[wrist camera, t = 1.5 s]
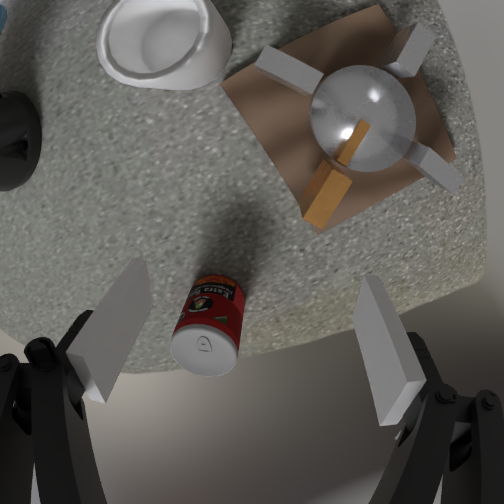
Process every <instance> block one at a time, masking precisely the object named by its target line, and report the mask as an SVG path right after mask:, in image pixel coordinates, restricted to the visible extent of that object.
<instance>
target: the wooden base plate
mask: <svg viewBox="0 0 504 504" xmlns="http://www.w3.org/2000/svg"><path fill="white" fill-rule="evenodd" d="M396 33H397V31H396V30H395V28H394V26H393V25H392V23H391V22H390V20H389V19H388V17H387V16H386V14H385V13H384V11H383V10H382V9H381V7H380V6H379V4H377V5H374V6H371V7H368V8H366V9H363V10H361V11H358V12H355V13H353V14H350V15H348V16H346V17H343V18H341V19H338V20H336V21H334V22H332V23H329V24H327V25H325V26H323V27H321V28H318V29H316V30H314V31H312V32H310V33H308V34H306V35H304V36H302V37H300V38H298V39H296V40H294V41H292V42H290V43H288V44H286V45H284V46H282V47H280V48H279V49H277V50H279V51H281V52H283V53H285V54H287V55H289V56H291V57H293V58H295V59H297V60H299V61H301V62H303V63H305V64H307V65H309V66H310V67H312V68H314V69H316V70H318V71H320V72H321V73H323V76H322V78H321V80H320V81H319V83H318V85H319V84H320V83H321V82H322V80H324V79H325V78H326V77H327V76H329V75H330V74H332V73H334V72H336V71H338V70H340V69H342V68H345V67H349V66H355V65H366V66H372V67H376V68H377V66H378V65H379V63H380V61H381V59H382V58H383V56H384V54H385V52H386V51H387V49H388V47H389V46H390V44H391V42H392V40H393V38H394V37H395V35H396ZM255 63H256V62H254V63H252V64H250V65H249V66H247V67H245V68H244V69H242V70H241V71H239V72H237V73H236V74H234V75H233V76H231V77H229V78H228V79H226V80H225V81H223V82H222V83H220V86H221V87H222V88H223V90H224V91H225V93H226V94H227V95H228V97H229V98H230V100H231V101H232V103H233V104H234V105H235V107H236V108H237V110H238V111H239V113H240V114H241V115H242V117H243V118H244V120H245V121H246V123H247V124H248V126H249V127H250V129H251V130H252V132H253V133H254V135H255V136H256V138H257V139H258V141H259V142H260V144H261V145H262V147H263V148H264V150H265V151H266V153H267V154H268V156H269V157H270V159H271V160H272V162H273V164H274V165H275V167H276V168H277V170H278V171H279V173H280V175H281V176H282V178H283V179H284V181H285V182H286V184H287V186H288V187H289V189H290V191H291V192H292V194H293V195H294V197H295V199H296V200H297V202H298V200H299V199H300V197H301V195H302V194H303V192H304V190H305V189H306V187H307V185H308V184H309V182H310V180H311V179H312V177H313V175H314V174H315V172H316V170H317V169H318V167H319V165H320V164H321V162H322V160H323V159H325V160H327V161H329V162H330V163H332V164H334V165H335V166H337V167H339V168H340V169H341V170H342V171H343V172H344V173H345V174H346V175H347V176H348V177H349V178H350V179H351V180H352V181H353V182H352V183H351V185H350V187H349V188H348V190H347V191H346V193H345V195H344V196H343V198H342V199H341V201H340V202H339V204H338V206H337V207H336V209H335V210H334V212H333V213H332V215H331V216H330V218H329V220H328V221H327V223H326V224H325V226H324V227H323V229H321V228H319V227H317V226H315V225H313V224H312V223H311V225H312V227H313V229H314V230H315V232H316V234H317V235H319V234H320V233H322V232H324V231H326V230H328V229H330V228H332V227H333V226H335V225H337V224H339V223H341V222H343V221H344V220H346V219H348V218H350V217H352V216H354V215H355V214H357V213H359V212H361V211H363V210H365V209H366V208H368V207H370V206H372V205H374V204H376V203H377V202H379V201H381V200H383V199H385V198H386V197H388V196H390V195H392V194H394V193H396V192H397V191H399V190H401V189H403V188H405V187H406V186H408V185H410V184H412V183H414V182H415V181H417V180H419V179H421V178H423V177H424V175H423V174H422V173H421V172H419V171H418V170H417V169H415V168H414V167H413V166H412V165H410V164H409V163H408V162H406V161H405V160H404V159H402V158H401V159H400V160H399V161H397V162H396V163H395V164H393V165H392V166H390V167H388V168H386V169H383V170H379V171H374V172H361V171H355V170H352V169H349V168H346V167H344V166H342V165H340V164H339V163H337V162H336V161H335V160H333V159H332V158H331V157H330V156H329V155H328V154H327V153H326V152H325V151H324V150H323V149H322V148H321V147H320V146H319V144H318V143H317V141H316V139H315V137H314V135H313V133H312V130H311V127H310V123H309V106H310V101H311V98H312V95H313V93H314V92H313V93H312V94H311V95H307V96H304V95H302V94H301V93H299V92H297V91H295V90H293V89H291V88H289V87H287V86H285V85H283V84H281V83H279V82H277V81H275V80H273V79H271V78H269V77H267V76H265V75H263V74H261V73H259V72H257V70H256V68H255V66H254V65H255ZM397 80H398V81H399V82H400V83H401V84H402V85H403V87H404V88H405V89H406V91H407V93H408V94H409V96H410V98H411V100H412V103H413V106H414V110H415V115H416V129H415V134H414V138H413V142H416V143H419V144H421V145H424V146H427V147H430V148H431V149H432V150H433V151H434V152H436V153H437V154H438V155H439V156H440V157H441V158H443V159H444V160H445V161H446V162H447V163H449V162H451V161H453V160H454V159H456V155H455V152H454V149H453V147H452V144H451V141H450V139H449V136H448V133H447V131H446V128H445V126H444V123H443V121H442V118H441V116H440V114H439V111H438V109H437V107H436V104H435V102H434V100H433V98H432V96H431V94H430V91H429V89H428V87H427V85H426V83H425V81H424V79H423V77H422V75H421V73H420V71H419V69H418V71H417V73H416V75H415V76H413V77H405V78H398V79H397ZM318 85H317V86H318ZM317 86H316V88H317ZM316 88H315V89H316ZM314 91H315V90H314ZM298 204H299V202H298Z"/></svg>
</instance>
